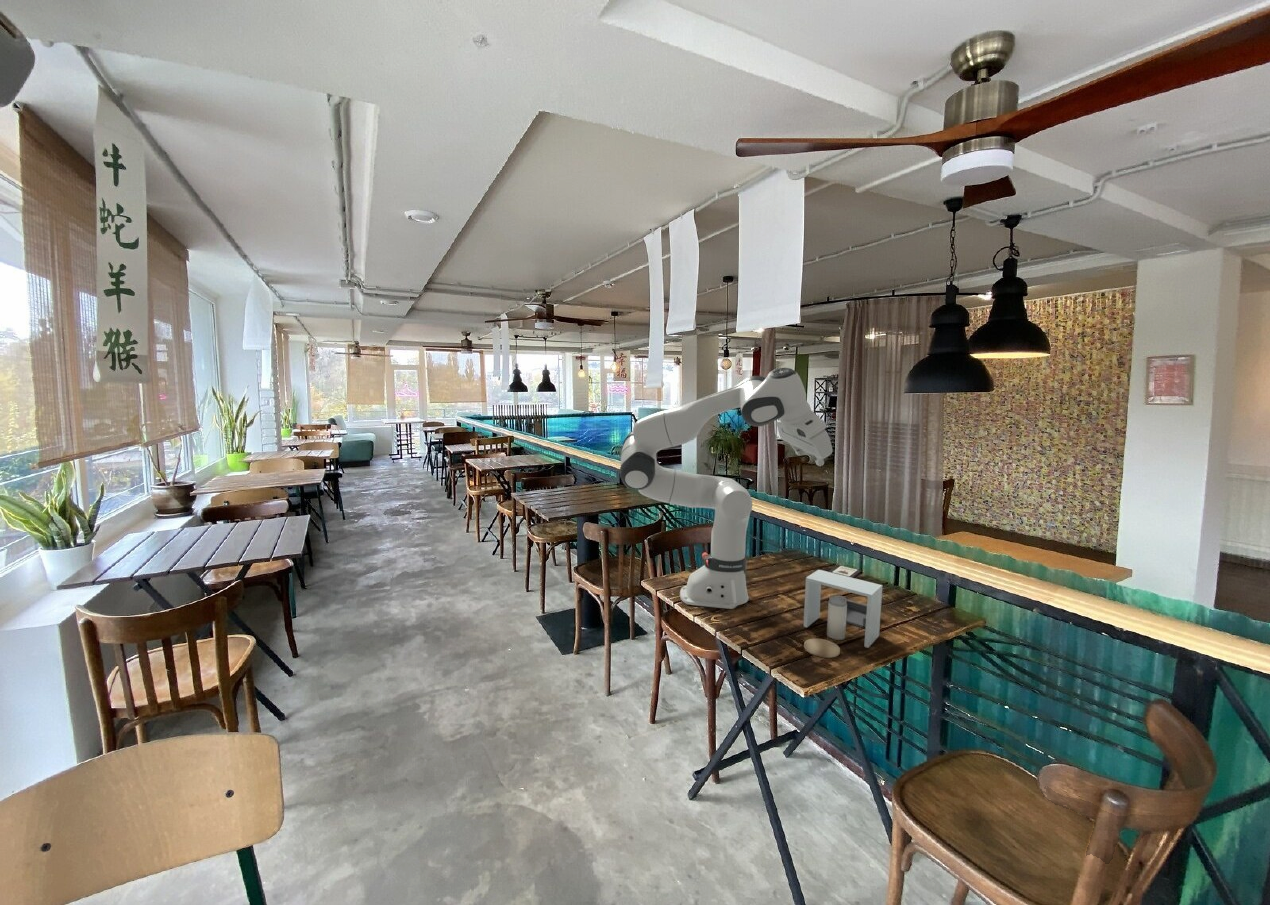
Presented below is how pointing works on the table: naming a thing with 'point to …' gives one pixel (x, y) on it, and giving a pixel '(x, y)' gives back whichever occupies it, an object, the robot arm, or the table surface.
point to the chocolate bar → (845, 571)
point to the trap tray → (856, 613)
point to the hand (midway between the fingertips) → (810, 459)
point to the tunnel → (845, 584)
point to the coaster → (821, 648)
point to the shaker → (837, 617)
